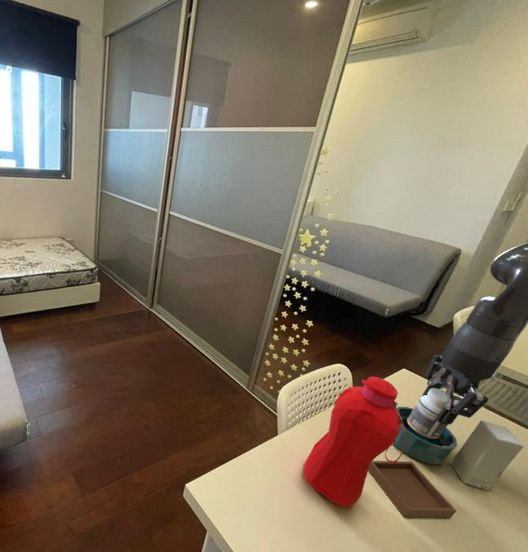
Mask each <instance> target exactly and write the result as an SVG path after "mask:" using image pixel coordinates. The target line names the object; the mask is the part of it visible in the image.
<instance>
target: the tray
mask: <svg viewBox="0 0 528 552" xmlns="http://www.w3.org/2000/svg"><path fill="white" fill-rule="evenodd" d="M368 473H370V475H371V476H372V478H373V479H374V481H376V483H377V484H378V485H379V487H380V488H381V489H382V491H383V492H384V493H385V495H386V496H387V497H388V498H389V500H390V501H391V503H392V504H393V505H394V506H395V508H396V509H397V510H398V511H399V513H400V514H401V516H402V517H403V518H426V519H427V518H429V519H430V518H435V519H436V518H439V519H441V518H445V519H446V518H447V519H450V518H452V517H453V516H454V514H456V512H457V510H456V509H455V508H454V506H453V505H452V504H451V503H450V502H449V500H447V498H445V496H444V495H443V494H441V493H442V492H440V490H438V489H437V487H436V486H435V485H433V483H432V482H431V481H430V480H429V479H428V478H427V477H426V475H424V473H423V472H422V471H421V470H420V469H419V468H418V467H417V466H416V464H414V462H413V461H399V460H398V461H396V462H394V463H391V462H389V461H387V460H373V461H372V462H371V463H370V464H369V468H368Z"/></svg>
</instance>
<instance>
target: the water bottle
mask: <svg viewBox="0 0 528 552" xmlns="http://www.w3.org/2000/svg"><path fill="white" fill-rule="evenodd" d="M361 384H363V386H359V385H357V386H349V387H347V388H346V389H344V390H343V391H342V392H341V393H340V395H339V396H338V397H337V398H336V400H335V404H334V406H333V408H332V409H331V414H330V420H329V426H328V427H329V428H328V432H326V433H325V434H324V435H323V436H322V437H321V438H319V440H318V441H317V442H316V443H315V444H314V445H313V447H312V449H311V451H310V452H309V454H308V456H307V458H306V460H305V462H304V464H303V477H304V479H305V480H306V482H307V483H308V484H309V485H310V486H311V488H313V489H314V490H315V491H316V492H317V493H320V494H322V495H324V497H326V498H327V499H328V501H331V502H332V503H333V504H336V505H338V506H340V507H345V508H350V507H352V506H353V505H355V504H356V503H357V501H358V500H359V499H360V497H361V495H362V493H363V490H364V486H365V483H366V478H367V476H368V473H369V471H368V468H369V464H370V463H371V462H372V461H375V459H377V457H379V456H380V455H381V454H383V453H384V452H385V453H384V457H385V461H389V462H391V463H394V462H396V461H399V460H400V458H401V457H402V455H403V450H401V453H400V454H399V456H398V458H397V459H395V460H390V459H389V458H387V452H388V450H389V449H390V447H391V446H392V445H393V444H394V442H395V440H396V438H397V435H398V434H399V432H400V429H399V426H400V428H401V423H402V425H403V422H402V418H401V416H400V412H399V411H398V409H397V407H398V402H397V401H396V399H397V397H398V396H399V392H398V390H397V388H396V387H395V386H394V385H393V384H392V383H391V382H390V381H387V380H386V379H383V378H381V377H378V376H369V377H367V379H364V378H363V379H362V380H361ZM403 427H404V425H403ZM404 429H405V427H404ZM405 438H406V429H405ZM404 444H405V441H404ZM403 449H404V446H403Z"/></svg>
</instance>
